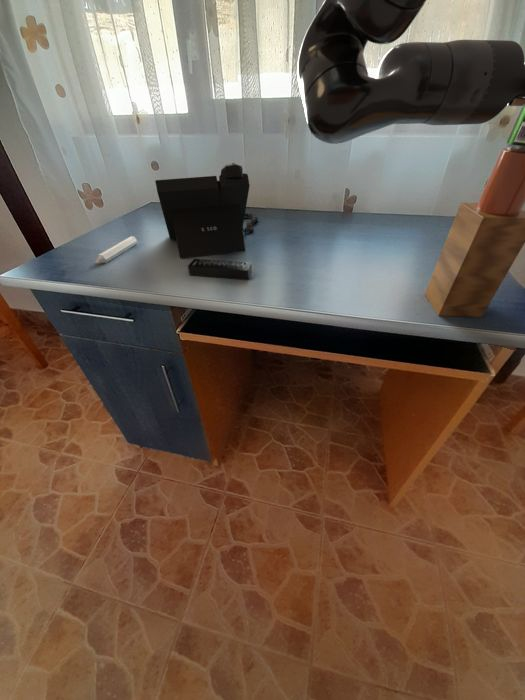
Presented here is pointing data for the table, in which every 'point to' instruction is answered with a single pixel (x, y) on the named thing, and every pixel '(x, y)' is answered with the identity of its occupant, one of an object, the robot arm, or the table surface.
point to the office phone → (207, 212)
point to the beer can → (517, 134)
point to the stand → (474, 261)
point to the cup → (505, 185)
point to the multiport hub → (220, 269)
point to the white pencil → (116, 250)
